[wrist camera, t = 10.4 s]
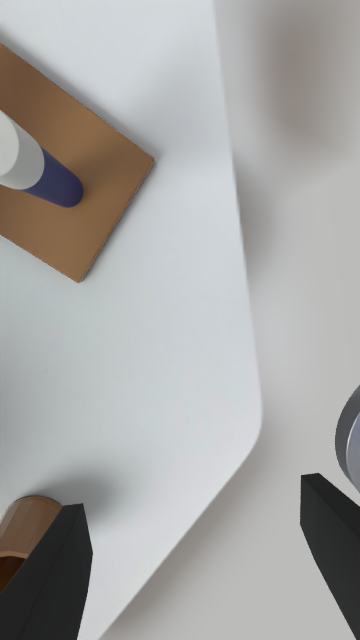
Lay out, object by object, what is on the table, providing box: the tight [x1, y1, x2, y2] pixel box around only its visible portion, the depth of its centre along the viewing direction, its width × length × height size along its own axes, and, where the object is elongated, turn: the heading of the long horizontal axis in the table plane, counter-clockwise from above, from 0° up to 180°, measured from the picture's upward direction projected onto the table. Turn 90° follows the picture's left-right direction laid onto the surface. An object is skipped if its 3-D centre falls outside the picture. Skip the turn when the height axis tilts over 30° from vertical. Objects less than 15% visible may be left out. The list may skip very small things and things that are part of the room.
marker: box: [0, 110, 83, 208], centre depth 12 cm, size 2×2×8 cm
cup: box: [0, 496, 62, 593], centre depth 20 cm, size 5×5×4 cm
